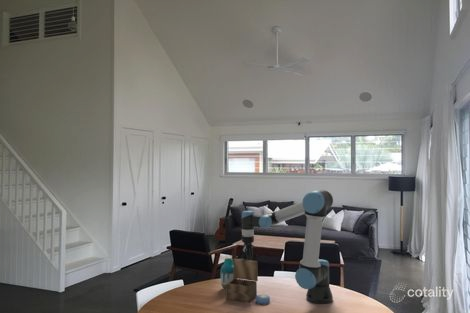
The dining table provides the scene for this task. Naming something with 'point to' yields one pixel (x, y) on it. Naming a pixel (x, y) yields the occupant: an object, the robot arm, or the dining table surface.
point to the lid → (245, 269)
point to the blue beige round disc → (262, 299)
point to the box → (241, 290)
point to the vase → (227, 272)
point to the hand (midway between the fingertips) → (248, 273)
